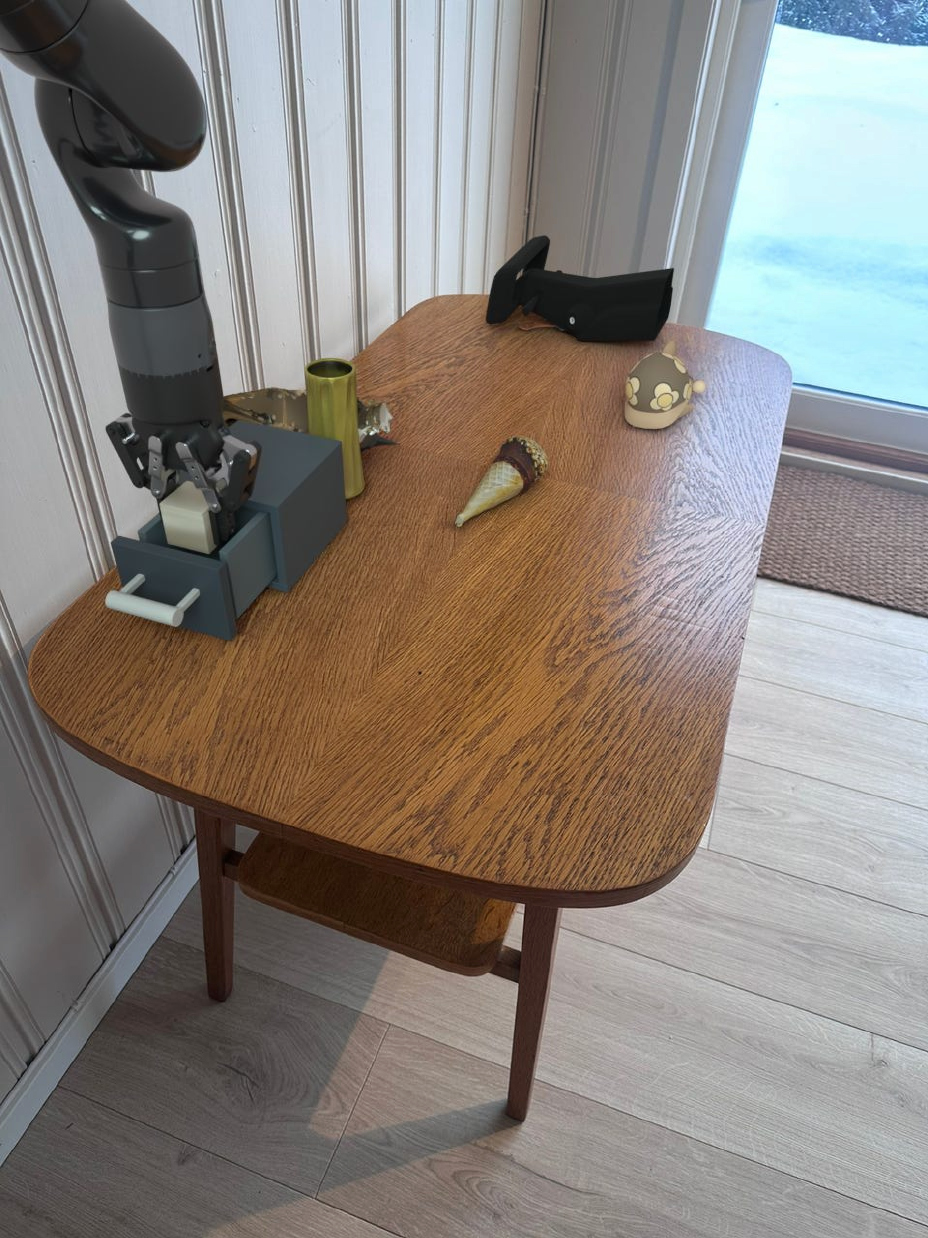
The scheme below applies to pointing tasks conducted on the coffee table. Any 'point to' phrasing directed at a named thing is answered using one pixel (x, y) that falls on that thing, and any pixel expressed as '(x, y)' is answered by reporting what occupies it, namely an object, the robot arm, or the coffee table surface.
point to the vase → (336, 413)
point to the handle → (581, 298)
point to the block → (187, 519)
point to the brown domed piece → (659, 390)
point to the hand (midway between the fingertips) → (200, 534)
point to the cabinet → (294, 494)
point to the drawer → (194, 576)
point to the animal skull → (301, 413)
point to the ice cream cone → (507, 476)
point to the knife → (537, 325)
